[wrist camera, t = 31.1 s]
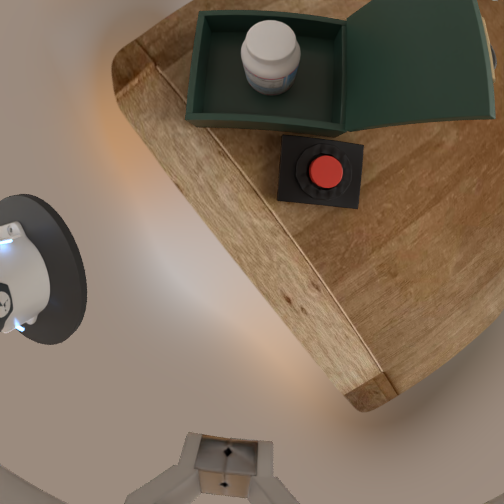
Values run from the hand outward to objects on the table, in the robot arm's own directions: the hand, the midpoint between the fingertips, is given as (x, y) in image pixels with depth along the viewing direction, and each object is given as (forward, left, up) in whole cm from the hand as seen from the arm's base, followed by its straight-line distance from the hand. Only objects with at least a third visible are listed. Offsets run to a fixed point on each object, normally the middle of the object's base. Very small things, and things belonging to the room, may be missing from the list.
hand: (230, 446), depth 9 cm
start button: (+7, +10, -28) cm, 30 cm away
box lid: (+11, +22, -16) cm, 29 cm away
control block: (+7, +10, -31) cm, 33 cm away
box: (0, +22, -31) cm, 38 cm away
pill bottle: (0, +22, -30) cm, 38 cm away
